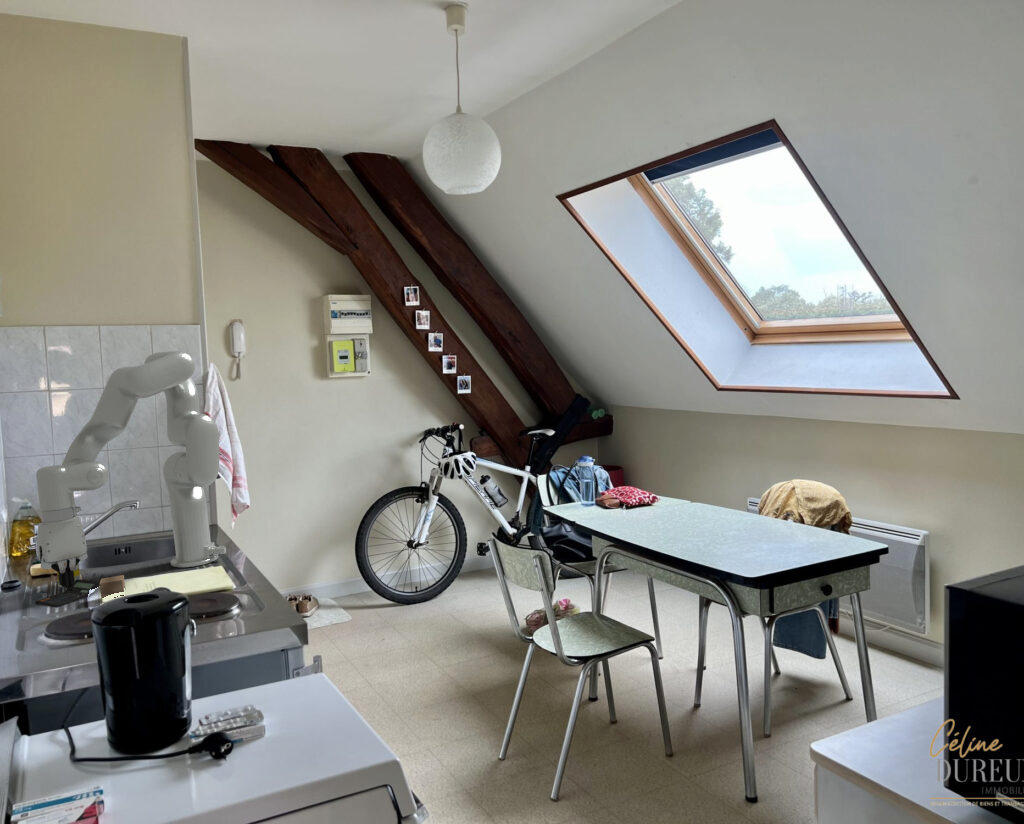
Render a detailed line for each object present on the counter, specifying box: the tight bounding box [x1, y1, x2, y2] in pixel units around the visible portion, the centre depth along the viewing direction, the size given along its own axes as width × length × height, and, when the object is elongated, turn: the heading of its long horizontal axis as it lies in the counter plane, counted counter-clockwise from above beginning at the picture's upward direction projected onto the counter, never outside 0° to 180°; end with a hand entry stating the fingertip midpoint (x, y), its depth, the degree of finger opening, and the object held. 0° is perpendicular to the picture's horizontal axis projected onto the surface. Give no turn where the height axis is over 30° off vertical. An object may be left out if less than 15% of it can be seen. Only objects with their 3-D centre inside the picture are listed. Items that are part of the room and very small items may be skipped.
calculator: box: [34, 579, 100, 608], centre depth 199 cm, size 9×12×3 cm
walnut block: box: [99, 574, 126, 599], centre depth 196 cm, size 5×5×5 cm
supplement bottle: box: [56, 560, 82, 589], centre depth 211 cm, size 5×5×10 cm
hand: (67, 586), depth 199 cm, fingers closed
